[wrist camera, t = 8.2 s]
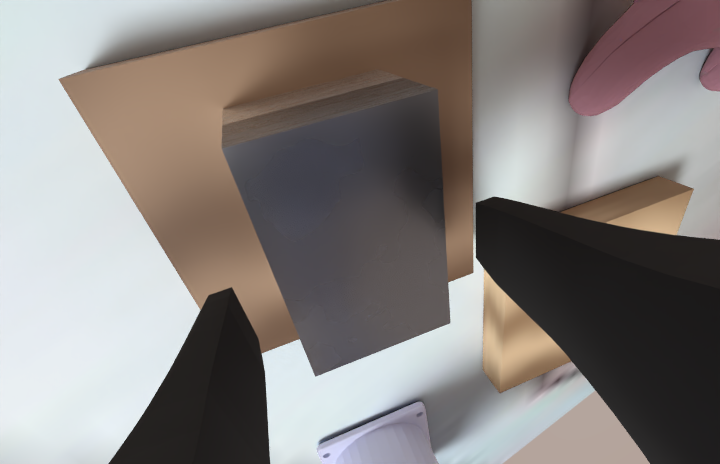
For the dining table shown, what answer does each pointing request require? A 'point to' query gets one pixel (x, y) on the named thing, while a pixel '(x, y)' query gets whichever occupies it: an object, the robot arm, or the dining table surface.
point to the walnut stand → (254, 82)
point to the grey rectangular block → (347, 209)
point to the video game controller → (646, 51)
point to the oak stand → (519, 332)
